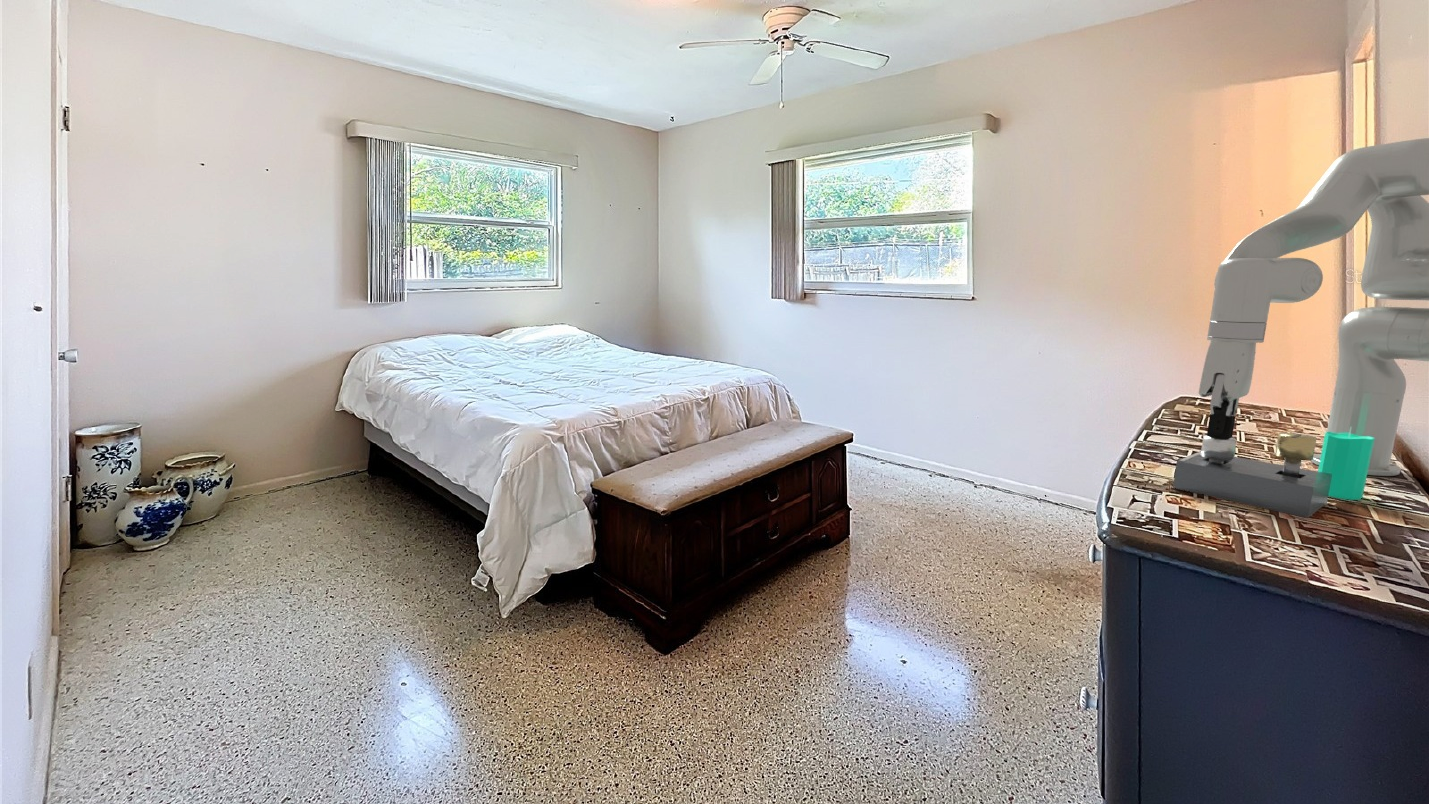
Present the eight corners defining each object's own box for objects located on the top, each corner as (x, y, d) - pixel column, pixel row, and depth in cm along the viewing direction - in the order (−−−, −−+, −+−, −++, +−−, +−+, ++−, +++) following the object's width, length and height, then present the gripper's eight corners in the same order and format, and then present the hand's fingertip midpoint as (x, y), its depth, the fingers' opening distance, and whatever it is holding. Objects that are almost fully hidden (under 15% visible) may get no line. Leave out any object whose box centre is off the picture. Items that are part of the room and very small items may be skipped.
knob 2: (1274, 476, 108) (1283, 430, 106) (1311, 483, 104) (1320, 436, 102) (1266, 481, 105) (1275, 434, 103) (1303, 488, 101) (1312, 439, 100)
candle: (1372, 501, 107) (1386, 431, 104) (1330, 498, 108) (1343, 429, 106) (1345, 489, 112) (1358, 423, 110) (1305, 487, 114) (1317, 422, 111)
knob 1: (1202, 475, 116) (1208, 432, 114) (1233, 481, 112) (1240, 437, 111) (1192, 480, 113) (1199, 436, 112) (1224, 486, 110) (1231, 441, 108)
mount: (1197, 476, 120) (1201, 450, 119) (1326, 503, 105) (1332, 473, 104) (1172, 488, 113) (1176, 460, 112) (1307, 518, 98) (1313, 486, 97)
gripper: (1223, 329, 115) (1208, 428, 119) (1193, 332, 107) (1177, 438, 110) (1277, 332, 109) (1259, 436, 113) (1250, 335, 101) (1231, 447, 104)
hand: (1219, 437), depth 111 cm, fingers closed
